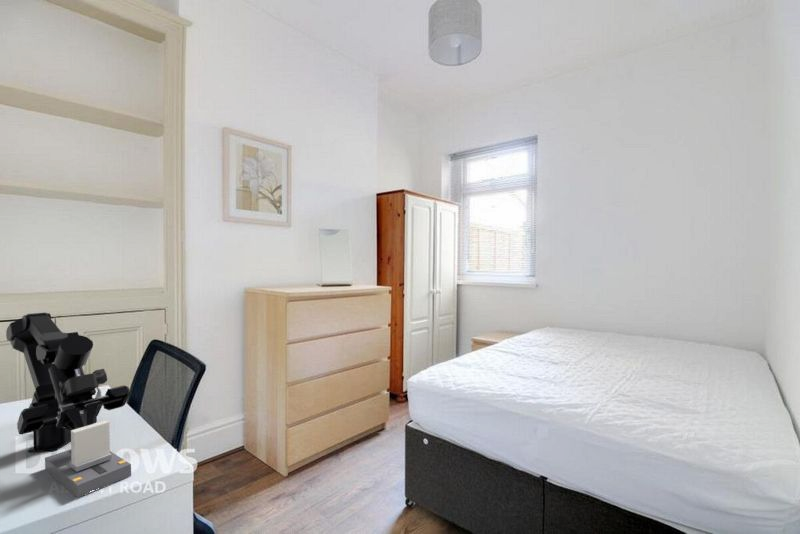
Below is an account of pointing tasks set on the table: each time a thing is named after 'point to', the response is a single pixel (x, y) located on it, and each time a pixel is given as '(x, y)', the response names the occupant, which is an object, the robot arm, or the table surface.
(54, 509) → the table surface
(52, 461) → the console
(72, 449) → the fader
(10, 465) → the table surface
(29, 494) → the table surface
